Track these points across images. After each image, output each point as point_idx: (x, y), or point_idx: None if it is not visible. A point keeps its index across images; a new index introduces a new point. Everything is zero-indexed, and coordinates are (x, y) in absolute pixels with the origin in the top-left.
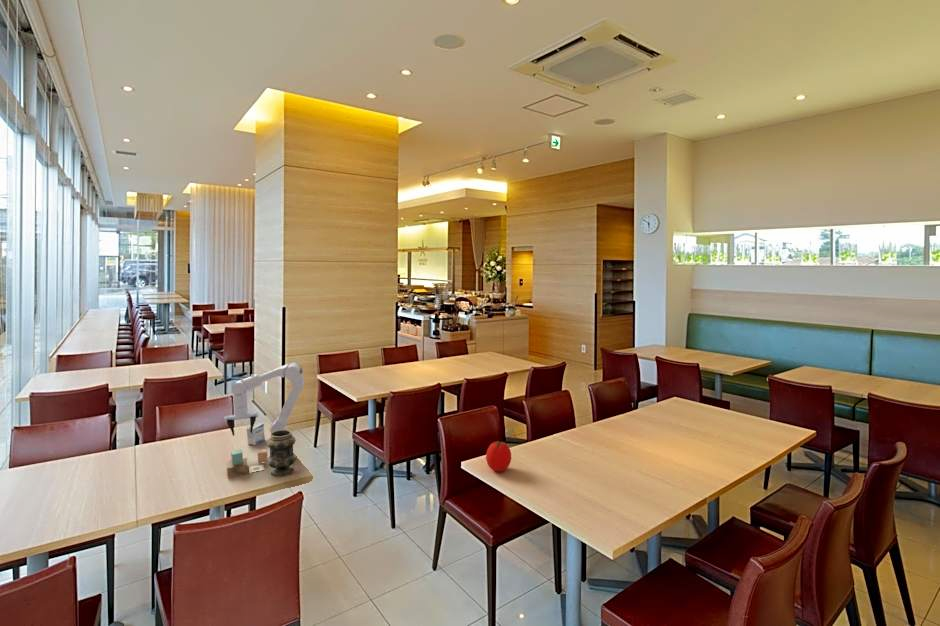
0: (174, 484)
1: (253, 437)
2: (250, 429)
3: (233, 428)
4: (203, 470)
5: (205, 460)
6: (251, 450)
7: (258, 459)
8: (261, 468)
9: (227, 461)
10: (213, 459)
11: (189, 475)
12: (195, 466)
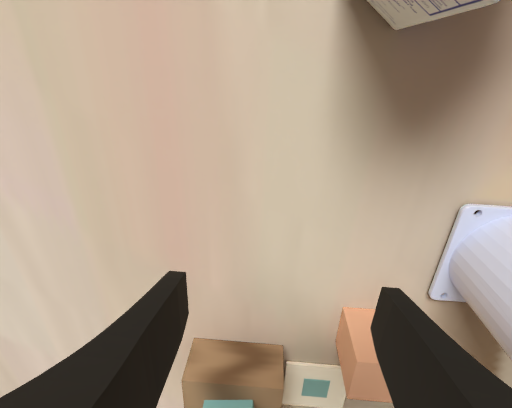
0: (2, 364)
1: (415, 10)
2: (386, 383)
3: (152, 367)
4: (79, 298)
5: (47, 173)
6: (339, 138)
7: (341, 362)
8: (336, 395)
9: (182, 385)
10: (94, 180)
11: (31, 319)
12: (18, 235)
